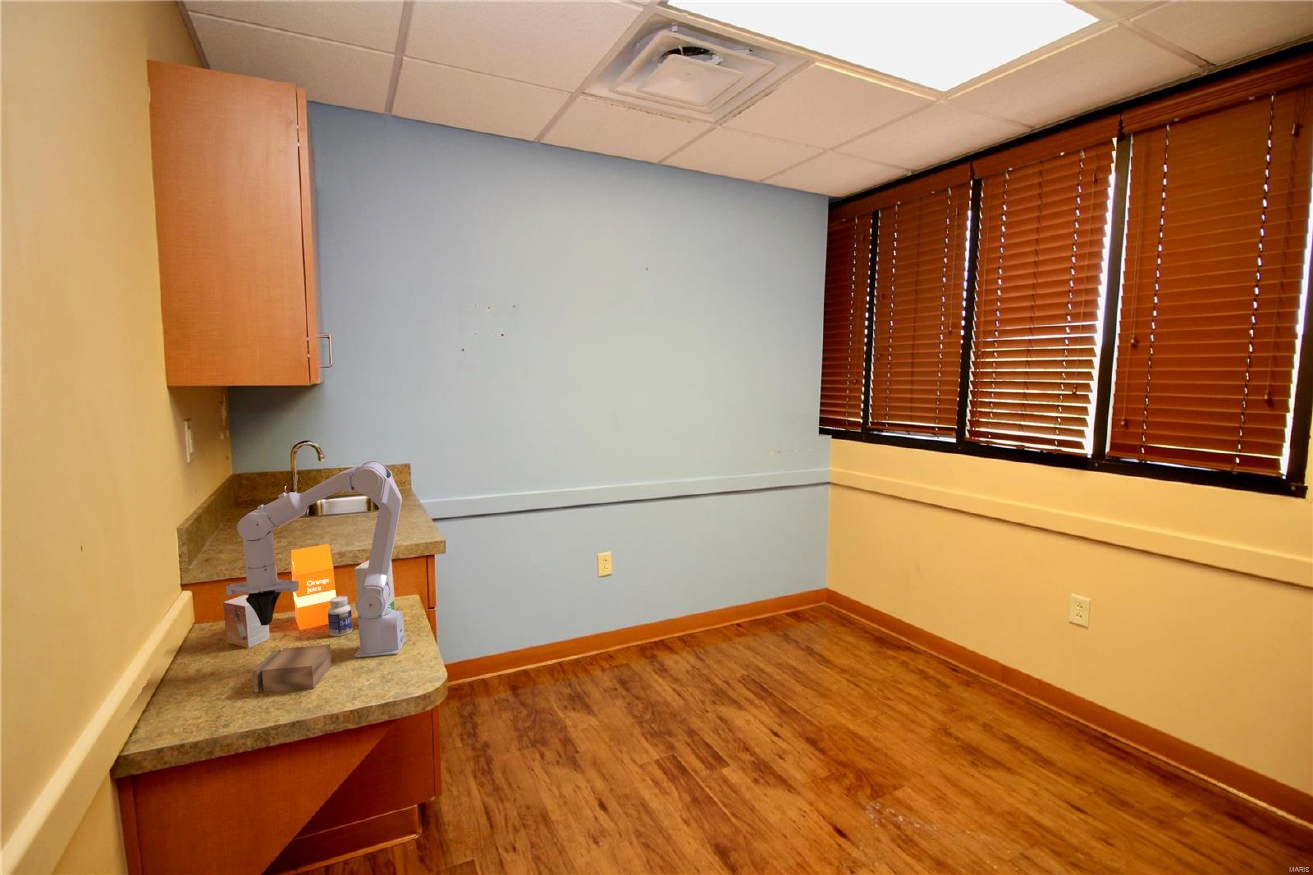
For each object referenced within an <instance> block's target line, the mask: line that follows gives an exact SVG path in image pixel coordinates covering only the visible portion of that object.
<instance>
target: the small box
mask: <svg viewBox="0 0 1313 875" xmlns="http://www.w3.org/2000/svg"><path fill="white" fill-rule="evenodd" d="M248 595H249V594H248ZM248 595H246V594H243V595H240V596H238V597H237V596H236V597H234V598H232V599H231V598H230V599H229V600H225V601H223V603H222V604H223V605H222V606H223V616H224V626H225V627H224V628H225V639H226V640H225V641H226V644H231V645H234V646H239V647H244V648H246V649H249V648H252V647H254V646H257V645H259V644H261V643H263V642H266V641H268V640H270V638H271V637H270V635H271V634H270V624H269V625H263V626H261V623H260V621H259V619H258V616H257V614H256V613H255V611H254V609H253V608H252V607H251V606H250V605H249V603H247V602H246V598H247V597H249V596H248Z"/></svg>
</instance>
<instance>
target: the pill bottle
mask: <svg viewBox="0 0 1313 875" xmlns="http://www.w3.org/2000/svg"><path fill="white" fill-rule="evenodd" d="M348 603H349V598H348V596H347V595H336V597H333V598H331V599H330V606H331V607H330V608H329V609H328V625H327V626H328V633H329V636H331V637H341V636H345V635H348V634H351V633H352V631H353V618H352V617H353V615H352V607H351V605H350V604H348Z"/></svg>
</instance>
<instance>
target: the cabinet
mask: <svg viewBox="0 0 1313 875" xmlns="http://www.w3.org/2000/svg"><path fill="white" fill-rule="evenodd" d="M280 650H281V651H280V652H279V653H278V654H277V655H276V656H275V657H274V658H273V659H272V660H271V661H270V662H269V663H268V664H267V665H266V666H265V667H264V668H263V669H262V678H263V688H262V689H263V694H271V693H283V692H285V693H286V692H294V691H306V690H315V688H316V687H317V685H318V684H319V682H320V681H321V680H322V679H323V678H324V677H325V675H327V673H328V671H329V670H330V669H331V668H332V656H331V645H330V644H324V645H323V644H320V645H309V646H308V645H307V646H299V647H298V646H297V647H286V648H282V649H280Z"/></svg>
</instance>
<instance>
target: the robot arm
mask: <svg viewBox="0 0 1313 875" xmlns="http://www.w3.org/2000/svg"><path fill="white" fill-rule="evenodd" d="M354 490H355V491H357V492H359V493H360V494H361V495H364V496H365V497H367V498H369V499H371V501H372V502H373V503H374V504H375V505H377V507H378V510H377V516H376V523H375V528H374V533H373V537H372V538H373V540H372V542H371V543H372V544H371V550H370V553H369V554H370V555H369V559H368V560H369V565H368V570H367V575H366V579H365V582H364V586H363V589H362V592H361V594H360V596H359V597H358V598H356V600H355V604H354V605H355V610H356V612H357V622H358V624H357V625H358V636H359V648H358V649H357V651H356V652H355V654H354V655H353V656H354V658H364V657H365V658H366V657H376V656H377V657H378V656H390V655H398V654H399V652H400V650H401V649H402V647H403V645H404V643H406V635H405V621H404V613H403V611H402V610H396V609H395V610H392V609H391V606H390V605H389V603H388V602H387V600H388V598H389V596H390V592H391V590H390V586H389V583H388V580H389V569H390V564H391V562H392V558H393V553H394V547H395V541H396V536H397V530H398V526H399V519H400V515H401V509H402V503H403V497H402V495H401V492H400V490H399V488H398V485H397V483H396V481H395V480H394V477H393V473H392V471H391V470H390V469H389V468H388V467H387V466H386V465H384V463H382V462H381V461H377V460H369V461H366V462H365V463H363V464H362V465H361V466H360V465H356V466H354V467H351V468H348V469H345V470H342V471H341V472H339V473H337V474H335V475H333V476H332V477H331V476H330V477H329V478H327V479H325V480H324V481H322V482H321V483H319V484H316V485H315V486H313V487H311V488H309V489H307V490H306V491H304V492H301V493H299V492H292V491H291V492H288V493H287V492H282V493H281V494H278V496H277V497H278V498H277V499H275V500H273V501H271V502H269V503H267V504H265V505H264V504H260V505H259V506H257V507H256V508H257V509H255V510H253V511H251V512H249V513H247V514H245V516H243V517H242V518H241V519H240V520H239V521H238V523H237V525H236V526H237V527H236V529H237V532H238V534H239V536H240V537H241V538H242V544H243V547H242V548H243V557H244V559H243V560H244V566H245V567H244V568H245V576H246V582H240V583H231V584H229V585H227V586H226V587H225V588H226V589H225V590H226V596H233V595H239V594H241V595H242V594H243V595H245V594H248V596H249V597H247V598H246V602H247V603H249V605H250V606H251V607H252V608H253V609H254V611H255V613H256V614H257V616H258V619H259V621H260V623H261V626H263V625H269V626H270V624H272V623H273V618H274V612H275V608H276V606H277V602H278V600H279V598H280V595H281V593H283V592H284V593H285V592H290V593H293V592H296V591H297V590H299V581H292V580H287V579H286V580H285V579H278V571H277V569H278V568H277V560H276V559H277V558H276V550H275V542H274V533H273V530H275V529H279V528H282V527H283V526H285V525H287V524H288V523H291V522H293V521H295V520H297V519H298V518H300V517H302V516H305V515H306V513H307V510H308V507H310V506H311V505H313V504H315V503H317V502H319V501H321V500H323V499H325V498H327V497H329V496H332V495H335V494H336V493H338V492H340V491H344V492H349V493H352V492H353V491H354Z"/></svg>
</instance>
